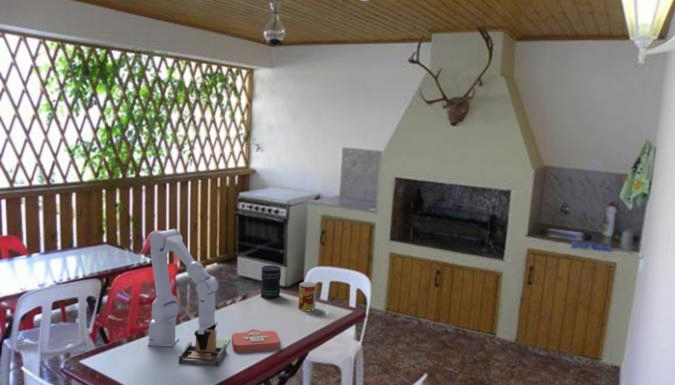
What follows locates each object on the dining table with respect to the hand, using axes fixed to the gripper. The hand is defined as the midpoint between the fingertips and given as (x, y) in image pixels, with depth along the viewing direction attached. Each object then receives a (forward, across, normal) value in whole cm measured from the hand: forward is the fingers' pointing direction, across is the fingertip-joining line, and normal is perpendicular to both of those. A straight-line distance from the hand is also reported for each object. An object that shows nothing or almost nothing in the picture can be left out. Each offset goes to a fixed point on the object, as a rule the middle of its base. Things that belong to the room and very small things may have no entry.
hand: (205, 345), depth 186 cm
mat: (+3, +9, 0) cm, 9 cm away
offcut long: (+3, -7, 0) cm, 8 cm away
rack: (+3, -3, 0) cm, 5 cm away
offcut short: (+3, -4, 0) cm, 6 cm away
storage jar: (+3, +71, -13) cm, 72 cm away
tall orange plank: (+3, 0, 0) cm, 3 cm away
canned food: (+3, +56, -33) cm, 65 cm away
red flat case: (+4, +12, -16) cm, 21 cm away
